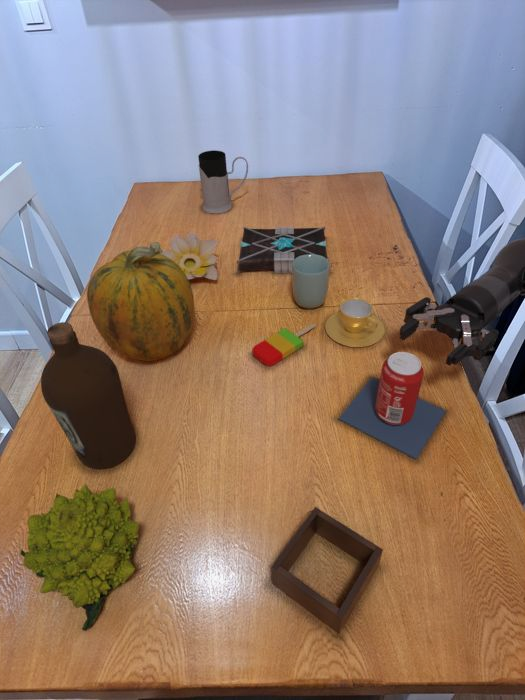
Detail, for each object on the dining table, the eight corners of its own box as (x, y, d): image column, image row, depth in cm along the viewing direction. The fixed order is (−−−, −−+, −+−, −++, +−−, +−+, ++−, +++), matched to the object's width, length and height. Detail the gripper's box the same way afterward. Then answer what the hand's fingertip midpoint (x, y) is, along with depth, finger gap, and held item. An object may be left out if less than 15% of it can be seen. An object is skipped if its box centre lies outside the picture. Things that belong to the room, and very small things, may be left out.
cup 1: (291, 292, 111) (292, 254, 104) (326, 292, 110) (328, 253, 103) (292, 313, 105) (292, 274, 98) (328, 313, 104) (331, 274, 98)
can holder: (378, 567, 64) (383, 549, 61) (339, 634, 58) (342, 619, 55) (313, 525, 69) (315, 506, 66) (271, 583, 63) (270, 566, 60)
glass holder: (201, 201, 147) (194, 151, 137) (247, 196, 149) (244, 146, 138) (203, 215, 141) (197, 163, 130) (252, 209, 142) (249, 157, 132)
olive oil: (123, 411, 86) (82, 295, 69) (151, 449, 80) (114, 332, 63) (64, 441, 81) (6, 325, 65) (89, 485, 75) (31, 369, 58)
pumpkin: (205, 368, 93) (187, 254, 77) (103, 386, 91) (61, 272, 74) (194, 310, 107) (177, 202, 90) (105, 324, 104) (70, 216, 88)
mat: (445, 412, 83) (446, 410, 83) (416, 460, 76) (416, 458, 76) (371, 378, 90) (372, 376, 89) (338, 419, 83) (338, 418, 83)
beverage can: (418, 409, 83) (431, 358, 75) (403, 434, 79) (416, 383, 71) (383, 395, 86) (393, 343, 78) (368, 418, 82) (376, 367, 74)
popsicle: (250, 354, 96) (249, 347, 94) (305, 321, 103) (305, 314, 101) (268, 369, 93) (268, 361, 91) (324, 334, 100) (324, 327, 98)
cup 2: (313, 330, 100) (314, 309, 97) (349, 304, 107) (351, 283, 103) (360, 357, 94) (363, 335, 90) (396, 327, 100) (400, 306, 96)
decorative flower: (150, 287, 111) (147, 244, 106) (159, 271, 121) (156, 231, 116) (217, 289, 111) (216, 246, 107) (219, 272, 121) (219, 232, 117)
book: (237, 274, 117) (236, 256, 114) (243, 239, 129) (241, 221, 126) (328, 273, 116) (330, 255, 112) (325, 238, 128) (326, 220, 125)
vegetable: (97, 654, 54) (32, 544, 51) (39, 621, 65) (-18, 528, 62) (188, 559, 65) (140, 463, 61) (126, 544, 75) (81, 461, 72)
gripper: (510, 339, 84) (459, 387, 76) (437, 304, 92) (384, 344, 84) (524, 303, 79) (471, 351, 71) (446, 270, 87) (390, 309, 79)
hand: (424, 347), depth 78 cm, fingers open, 8 cm apart
